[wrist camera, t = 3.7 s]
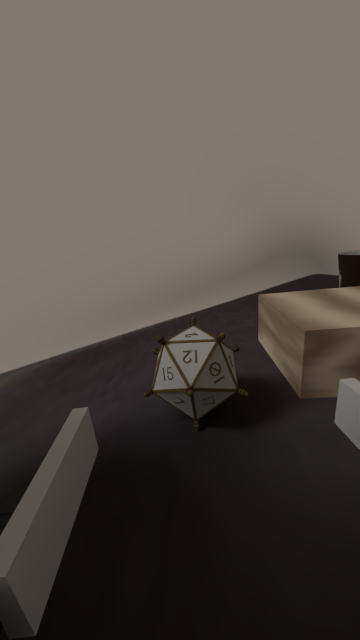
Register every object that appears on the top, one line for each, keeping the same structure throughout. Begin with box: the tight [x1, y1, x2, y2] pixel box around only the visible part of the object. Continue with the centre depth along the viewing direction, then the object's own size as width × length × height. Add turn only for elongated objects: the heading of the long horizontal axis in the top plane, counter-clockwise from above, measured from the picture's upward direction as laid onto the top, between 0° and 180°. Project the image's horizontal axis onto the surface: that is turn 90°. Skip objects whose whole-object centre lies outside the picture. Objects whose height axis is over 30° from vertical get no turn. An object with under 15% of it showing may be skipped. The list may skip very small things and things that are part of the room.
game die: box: [142, 317, 249, 432], centre depth 21 cm, size 9×8×10 cm
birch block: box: [258, 286, 360, 399], centre depth 28 cm, size 14×14×7 cm
